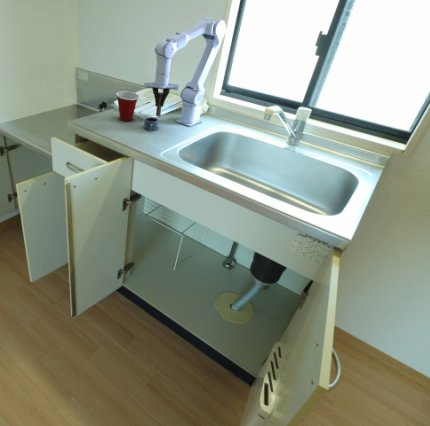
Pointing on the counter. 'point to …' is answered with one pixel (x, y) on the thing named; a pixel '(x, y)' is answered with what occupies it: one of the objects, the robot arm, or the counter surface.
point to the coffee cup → (151, 123)
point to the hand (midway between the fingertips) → (159, 105)
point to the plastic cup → (126, 104)
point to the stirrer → (159, 104)
